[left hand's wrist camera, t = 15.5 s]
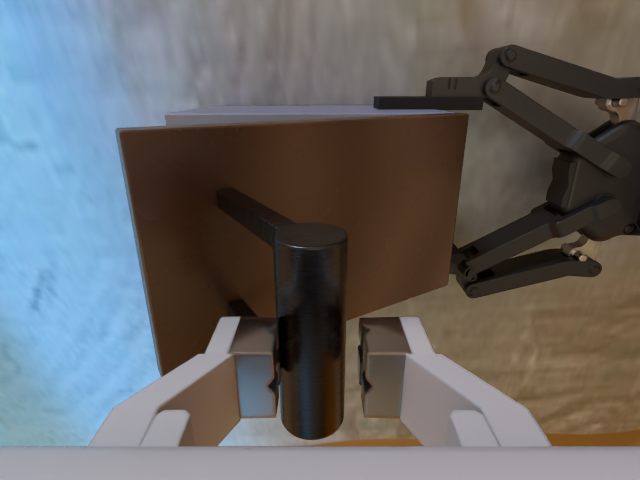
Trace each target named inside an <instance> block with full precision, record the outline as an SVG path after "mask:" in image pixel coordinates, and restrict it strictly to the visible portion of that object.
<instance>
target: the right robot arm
mask: <svg viewBox="0 0 640 480" xmlns="http://www.w3.org/2000/svg"><path fill="white" fill-rule="evenodd" d="M485 60H486V63H485V65H484V67H483V70H482V71H481V73H480V74H479V75H477V76H476V77H440V78H434V79H431V80H429V81H427V86H426V96H382V97H374V106H373V108H375V109H378V110H430V109H436V110H482V107H483V101H484V102H485V103H487V104H488V105H490V106H491V107H493V108H494V109H496V110H497V111H499V112H500V113H502V114H504V115H505V116H507V117H508V118H510V119H511V120H513V121H514V122H516V123H517V124H519V125H520V126H522V127H523V128H525V129H527V130H528V131H530V132H531V133H533V134H534V135H536V136H537V137H539V138H540V139H542V140H543V141H545V143H546V144H547V145H549V146H550V147H552V148H553V149H555V150H556V151H558V152H559V153H561V154H560V155H559V157H558V158H554V162H553V167H552V174H553V180H552V182H551V184H550V186H549V188H548V191H547V196H546V200H547V201H548V202H546V203H544V204H542V205H540V206H538V207H536V208H534V209H532V210H531V213H530V214H528V215H526V216H524V217H522V218H520V219H518V220H516V221H514V222H512V223H510V224H508V225H506V226H504V227H502V228H500V229H498V230H496V231H494V232H492V233H490V234H488V235H486V236H484V237H482V238H480V239H477V240H475V241H473V242H471V243H469V244H467V245H465V246H463V247H461V248H459V249H458V248H457V247H456V246H455V245H454V243H453V246H452V254H451V262H450V270H449V274H456V280H457V282H458V283H459V285H460V286H461V287H462V289H463V290H464V292H465V293H466V295H467V296H468V297H470V298H477V297H481V296H486V295H490V294H494V293H498V292H502V291H506V290H511V289H515V288H519V287H523V286H527V285H531V284H536V283H540V282H544V281H548V280H552V279H556V278H561V277H565V276H582V277H595V276H597V275H598V274H599V273H600V272H601V270H602V266H601V264H600V263H598V262H597V261H595V259H596V256H597V253H598V250H599V247H600V244H601V241H605V240H608V239H610V238H612V237H615V236H618V235H638V236H640V123H639V122H637V121H635V117H636V112H637V107H638V102H639V98H640V77H624V78H614V77H611V76H607V75H604V74H601V73H598V72H595V71H592V70H589V69H586V68H583V67H580V66H577V65H574V64H571V63H568V62H565V61H562V60H559V59H556V58H553V57H550V56H547V55H544V54H541V53H538V52H535V51H531V50H528V49H525V48H522V47H519V46H516V45H508V46H504V47H500V48H496V49H492V50H491V51H489V52H488V54H487V55H486V59H485ZM509 74H511V75H514V76H517V77H520V78H523V79H526V80H529V81H532V82H535V83H539V84H542V85H545V86H548V87H551V88H554V89H557V90H560V91H563V92H567V93H570V94H573V95H576V96H580V97H584V98H596V100H595V104H596V105H597V106H598V108H599V109H600V110H602V111H606V112H608V113H609V114H610V120H609V121H607V122H606V123H604V124H602V125H601V126H599V127H598V128H596V129H595V130H593V131H591V132H590V133H588V134H586V133H584V132H582V131H580V130H577V129H576V128H574V127H573V126H571V125H570V124H568V123H567V122H565V121H564V120H562V119H561V118H559V117H558V116H556V115H555V114H553V113H552V112H550V111H549V110H547V109H546V108H544V107H543V106H541V105H540V104H538V103H537V102H535V101H534V100H532V99H531V98H529V97H528V96H526V95H525V94H523V93H522V92H521V91H519V90H518V89H516V88H515V87H513V86H512V85H510V84H509V83H507V82H506V79H507V77H508V75H509ZM558 216H559V217H558ZM575 231H577V232H579V233H580V234H581V237H580V238H579V240H577V241H576V242H573V243H568V244H567V243H564V244H562V246H561V249H548V250H543V251H539V252H535V253H531V254H527V255H523V256H519V257H515V258H511V257H513V256H515V255H517V254H519V253H521V252H523V251H525V250H528V249H530V248H532V247H534V246H536V245H538V244H540V243H542V242H544V241H547V240H549V239H551V238H554V237H557V238H560V237H564V236H566V235H568V234H571V233H573V232H575ZM509 258H510V259H509Z"/></svg>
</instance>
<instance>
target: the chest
mask: <svg viewBox="0 0 640 480" xmlns="http://www.w3.org/2000/svg"><path fill="white" fill-rule="evenodd" d="M373 106H374V105H314V106H211V107H205V108H198V109H192V110H186V111H179V112H173V113H167V114H165V118H166V125H167V126H174V125H196V124H218V123H240V122H262V121H284V120H306V119H329V118H351V117H373V116H395V115H417V114H439V113H454V112H448V111H442V110H436V109H430V110H378V109H375V108H373Z"/></svg>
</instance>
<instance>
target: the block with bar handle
mask: <svg viewBox="0 0 640 480" xmlns="http://www.w3.org/2000/svg"><path fill="white" fill-rule="evenodd" d="M468 118H469V115H468V114H461V113H439V114H417V115H395V116H373V117H351V118H329V119H306V120H284V121H262V122H240V123H218V124H196V125H174V126H152V127H130V128H117V129H116V130H115V132H116V138H117V143H118V149H119V155H120V160H121V166H122V171H123V177H124V182H125V188H126V193H127V199H128V204H129V210H130V215H131V221H132V226H133V232H134V238H135V243H136V249H137V254H138V260H139V265H140V271H141V276H142V282H143V287H144V293H145V298H146V304H147V309H148V315H149V321H150V326H151V332H152V337H153V343H154V348H155V354H156V359H157V365H158V370H159V372H160V375H161V377H163V376H164V375H166V374H168V373H169V372H171V371H172V370H174V369H176V368H177V367H179V366H180V365H182V364H183V363H185V362H187V361H188V360H190V359H191V358H193V357H195V356H196V355H198V354H205V352H206V349H207V347H208V345H209V342H210V340H211V338H212V336H213V333H214V331H215V329H216V327H217V324H218V322H219V320H220V318H222V317H237V316H241V317H280V331H281V338H280V345H279V346H280V349H281V353H282V376H281V384H280V405H281V420H282V423H283V425H284V427H285V428H286V429H287V430H288V431H289V432H290V433H291V434H292V435H294V436H296V437H298V438H301V439H306V440H318V439H322V438H326V437H328V436H330V435H332V434H333V433H334V432H336V431H337V430H338V428H339V427H340V425H341V424H342V422H343V418H344V388H345V346H346V321H347V320H350V319H353V318H355V317H358V316H361V315H364V314H367V313H370V312H372V311H375V310H378V309H381V308H384V307H387V306H389V305H392V304H395V303H398V302H401V301H404V300H406V299H409V298H412V297H415V296H418V295H421V294H423V293H426V292H429V291H432V290H435V289H438V288H440V287H443V286H446V285H447V284H448V278H449V270H450V262H451V254H452V246H453V238H454V230H455V222H456V214H457V206H458V198H459V190H460V182H461V174H462V166H463V158H464V150H465V142H466V134H467V126H468Z"/></svg>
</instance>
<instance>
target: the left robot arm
mask: <svg viewBox="0 0 640 480" xmlns="http://www.w3.org/2000/svg"><path fill="white" fill-rule="evenodd" d="M280 338H281V331H280V317H241V316H237V317H222V318H220V320H219V322H218V324H217V327H216V329H215V331H214V333H213V336H212V338H211V340H210V342H209V345H208V347H207V349H206V352H205V354H198V355H196V356H195V357H193V358H191V359H190V360H188V361H187V362H185V363H183V364H182V365H180V366H179V367H177V368H176V369H174V370H172V371H171V372H169V373H168V374H166V375H164V376H163V377H161V378H160V379H158V380H156V381H155V382H153V383H152V384H150V385H149V386H147V387H145V388H144V389H142V390H141V391H139V392H137V393H136V394H134V395H133V396H131V397H129V398H128V399H126V400H125V401H123V402H122V403H120V404H118V405H117V406H115V407H114V408H112V410H111V411H110V413H109V414H108V416H107V417H106V419H105V421H104V422H103V424H102V425H101V427H100V428H99V430H98V431H97V433H96V434H95V436H94V437H93V439H92V440H91V442H90V443H89V445H88V446H0V480H640V446H552V445H551V443H550V442H549V440H548V439H547V437H546V436H545V434H544V432H543V431H542V429H541V428H540V426H539V425H538V423H537V422H536V420H535V419H534V417H533V416H532V414H531V412H530V411H529V409H528V408H526V407H525V406H523V405H521V404H520V403H518V402H517V401H515V400H514V399H512V398H510V397H509V396H507V395H506V394H504V393H502V392H501V391H499V390H498V389H496V388H495V387H493V386H491V385H490V384H488V383H487V382H485V381H483V380H482V379H480V378H479V377H477V376H476V375H474V374H472V373H471V372H469V371H468V370H466V369H464V368H463V367H461V366H460V365H458V364H457V363H455V362H453V361H452V360H450V359H449V358H447V357H445V356H444V355H442V354H435V351H434V349H433V347H432V345H431V343H430V340H429V338H428V336H427V334H426V331H425V329H424V327H423V325H422V322H421V320H420V318H419V317H417V316H412V317H379V318H360V320H359V338H360V345H359V346H358V375H359V384H360V385H361V386H362V389H361V399H362V406H363V412H364V418H399V419H400V421H401V422H402V423H403V424H404V425H405V426H406V428H407V429H408V430H409V431H410V432H411V433H412V434H413V435H414V437H415V438H416V439H417V440H418V441H419V442H420V443H421V444H422V445H423V446H218V445H219V443H220V442H221V441H222V440H223V439H224V438H225V437H226V436H227V435H228V433H229V432H230V431H231V430H232V429H233V428H234V427H235V426H236V425H237V424H238V422H239V421H240V419H241V418H276V413H277V406H278V399H279V388H278V386H279V385H280V384H281V376H282V353H281V349H280V346H279V345H280Z"/></svg>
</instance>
